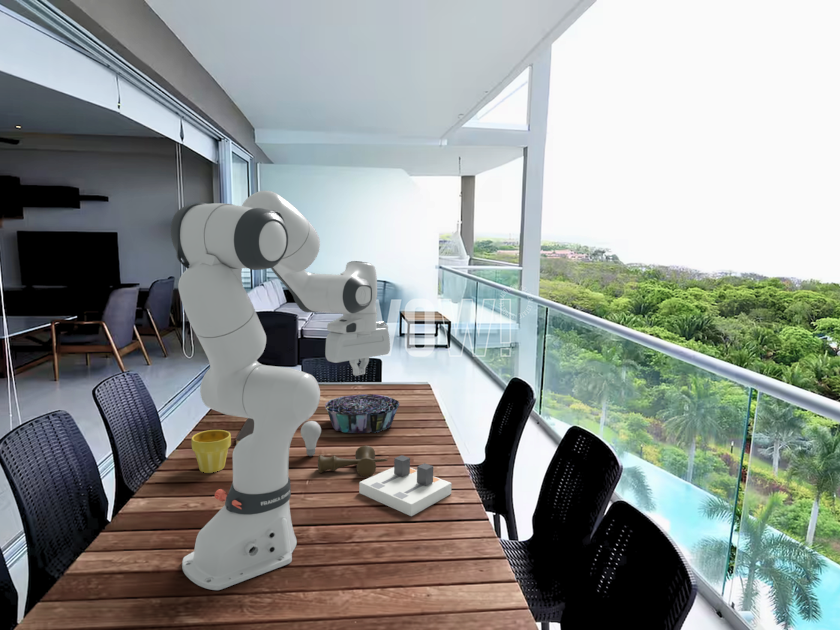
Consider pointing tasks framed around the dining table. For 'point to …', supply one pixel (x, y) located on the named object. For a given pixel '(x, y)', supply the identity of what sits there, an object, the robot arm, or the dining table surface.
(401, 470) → the block
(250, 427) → the hardcover book
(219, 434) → the plant pot
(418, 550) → the dining table surface
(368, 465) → the kendama
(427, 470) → the block
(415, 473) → the breaker panel
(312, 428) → the lightbulb
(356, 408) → the decorative bowl
